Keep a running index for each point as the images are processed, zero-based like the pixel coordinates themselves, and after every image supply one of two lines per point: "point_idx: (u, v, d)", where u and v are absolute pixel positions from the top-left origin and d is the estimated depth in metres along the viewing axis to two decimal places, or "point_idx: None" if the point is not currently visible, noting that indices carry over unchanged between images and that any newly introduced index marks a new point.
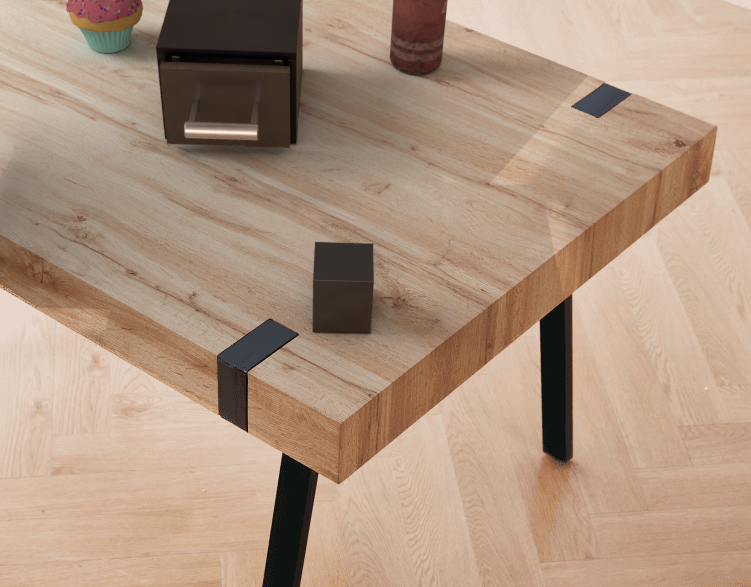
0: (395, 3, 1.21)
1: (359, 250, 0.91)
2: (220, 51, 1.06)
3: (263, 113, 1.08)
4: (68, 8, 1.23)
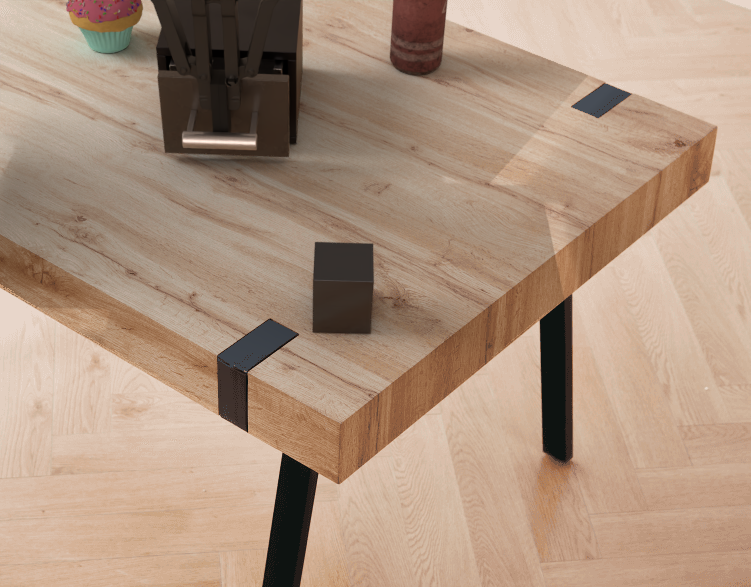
0: (395, 3, 1.21)
1: (359, 250, 0.91)
2: (220, 51, 1.06)
3: (261, 122, 1.07)
4: (68, 8, 1.23)
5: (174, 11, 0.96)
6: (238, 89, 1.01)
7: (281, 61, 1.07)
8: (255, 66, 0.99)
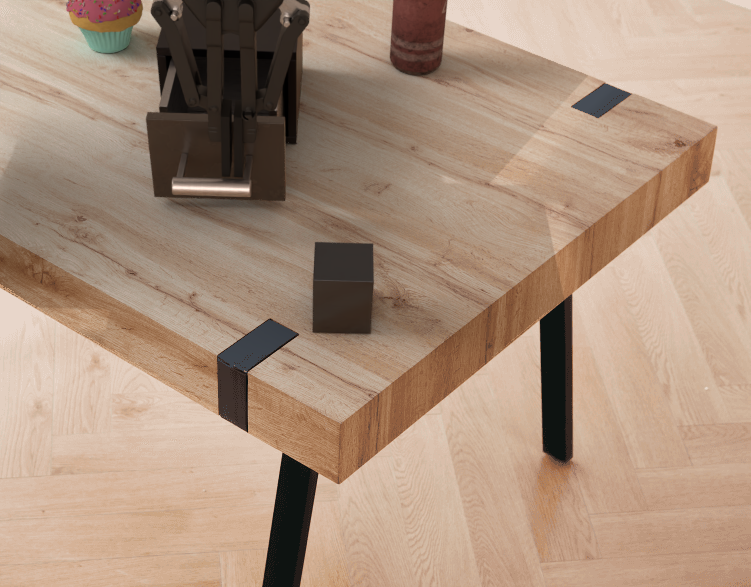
0: (395, 3, 1.21)
1: (359, 250, 0.91)
2: None
3: (256, 166, 1.01)
4: (68, 8, 1.23)
5: (186, 39, 0.89)
6: (255, 122, 0.94)
7: None
8: (274, 99, 0.92)
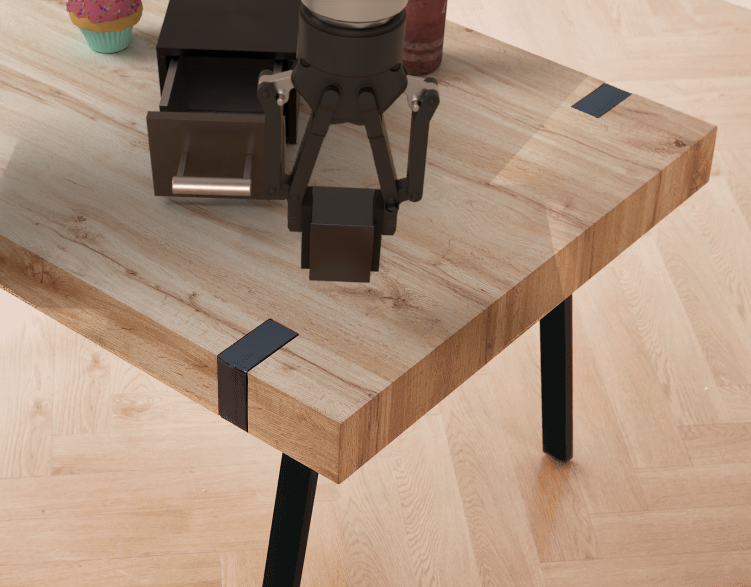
0: None
1: (359, 194, 0.87)
2: (220, 51, 1.06)
3: (256, 165, 1.01)
4: (68, 8, 1.23)
5: None
6: (396, 213, 0.86)
7: None
8: (418, 189, 0.84)
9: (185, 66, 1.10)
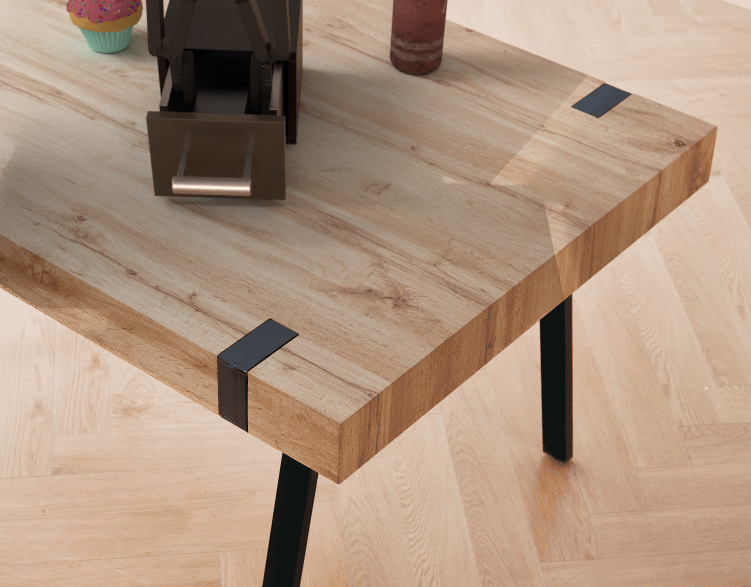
0: (395, 3, 1.21)
1: (236, 91, 1.05)
2: (220, 51, 1.06)
3: (256, 165, 1.01)
4: (68, 8, 1.23)
5: None
6: (269, 73, 1.02)
7: (277, 100, 1.02)
8: (285, 49, 0.99)
9: None
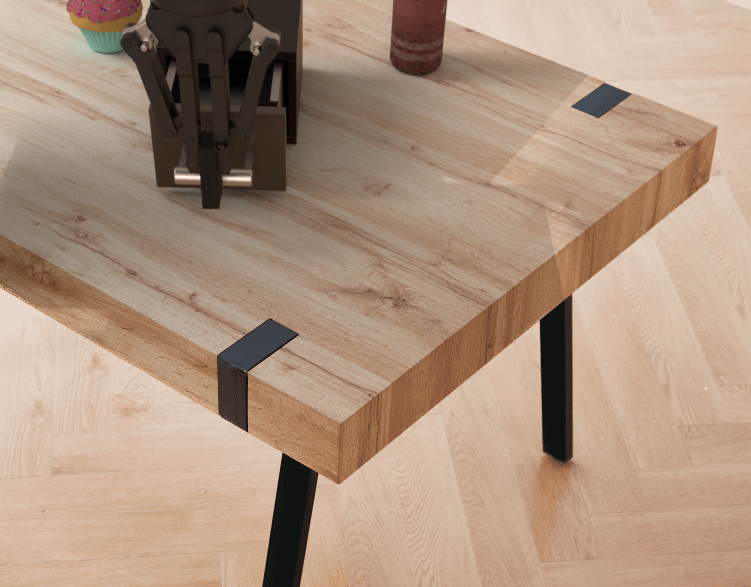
0: (395, 3, 1.21)
1: (237, 84, 1.06)
2: None
3: (257, 156, 1.03)
4: (68, 8, 1.23)
5: (159, 70, 0.89)
6: (229, 152, 0.93)
7: (278, 92, 1.03)
8: (247, 129, 0.91)
9: None
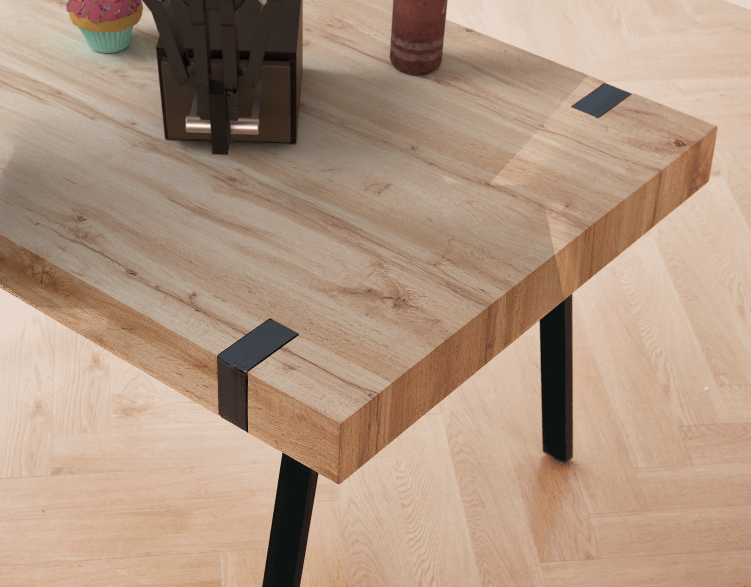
0: (395, 3, 1.21)
1: None
2: (220, 51, 1.06)
3: (263, 108, 1.09)
4: (68, 8, 1.23)
5: (173, 20, 0.95)
6: (237, 100, 0.99)
7: None
8: (254, 76, 0.97)
9: None
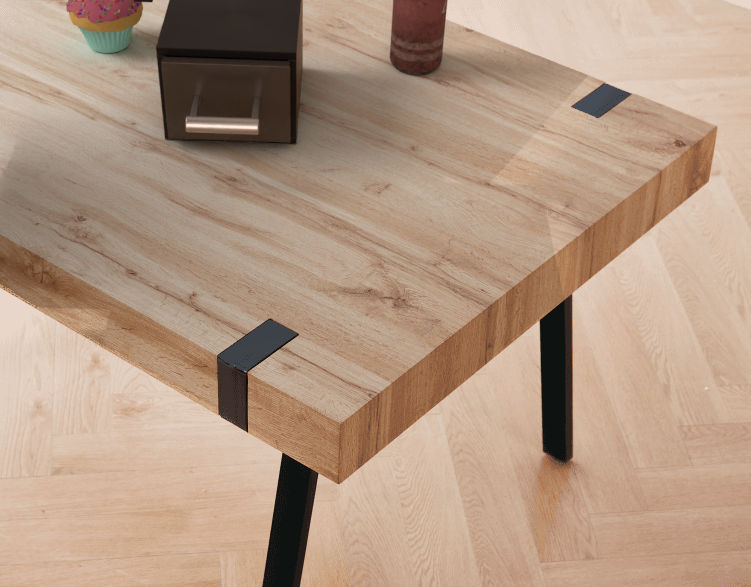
0: (395, 3, 1.21)
1: None
2: (220, 51, 1.06)
3: (263, 108, 1.09)
4: (68, 8, 1.23)
5: None
6: None
7: None
8: None
9: None
